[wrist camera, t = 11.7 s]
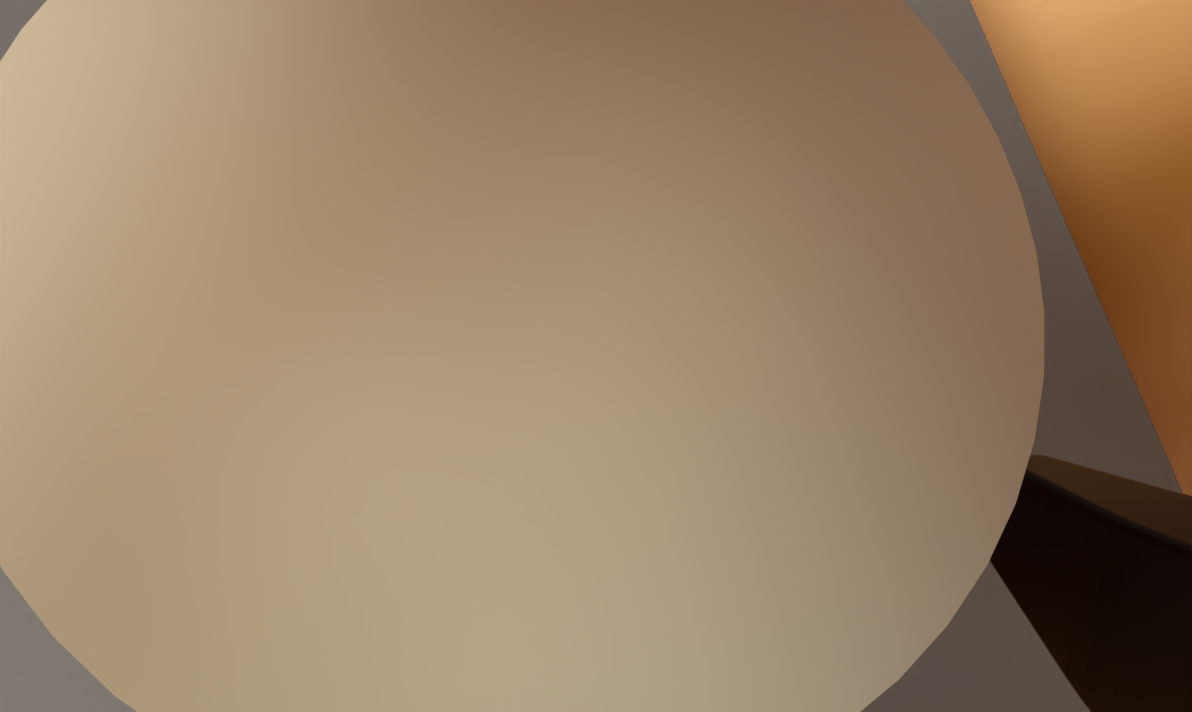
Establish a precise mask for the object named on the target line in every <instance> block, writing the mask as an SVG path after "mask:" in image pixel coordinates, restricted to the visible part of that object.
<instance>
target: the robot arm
mask: <svg viewBox="0 0 1192 712" xmlns="http://www.w3.org/2000/svg"><path fill="white" fill-rule="evenodd" d="M990 561H991V563H992V565H993V567H994V568H995V570H996V571H997V573H998V575H999V576H1000V578H1001V579H1002V581H1003V582H1004V584H1005V585H1006V587H1007V588H1008V590H1009V591H1010V593H1011V594H1012V596H1013V597H1014V599H1015V601H1016V602H1017V604H1018V605H1019V607H1020V608H1021V610H1022V611H1023V613H1024V614H1025V616H1026V617H1027V619H1028V620H1029V622H1030V624H1031V625H1032V627H1033V628H1034V630H1035V631H1036V633H1037V634H1038V636H1039V637H1040V639H1041V640H1042V642H1043V643H1044V645H1045V647H1046V648H1047V650H1048V651H1049V653H1050V654H1051V656H1052V657H1053V659H1054V660H1055V662H1056V663H1057V665H1058V666H1059V668H1060V669H1061V671H1062V673H1063V674H1064V676H1065V677H1066V679H1067V680H1068V681H1069V683H1070V684H1071V686H1072V687H1073V689H1074V690H1075V691H1076V693H1077V694H1078V696H1079V697H1080V699H1081V700H1082V701H1083V703H1084V704H1085V705H1086V706H1087V708H1088V709H1089V710H1090V712H1192V496H1189V495H1185V494H1182V493H1178V492H1175V491H1171V490H1168V489H1164V488H1160V487H1157V486H1153V485H1150V484H1146V483H1142V482H1139V481H1135V480H1132V479H1128V478H1124V477H1121V476H1117V475H1114V474H1110V473H1106V472H1103V471H1099V470H1096V469H1092V468H1088V467H1085V466H1081V465H1078V464H1074V463H1070V462H1067V461H1063V460H1060V459H1056V458H1052V457H1049V456H1045V455H1030V458H1029V461H1028V464H1027V468H1026V471H1025V474H1024V478H1023V481H1022V484H1021V488H1020V491H1019V494H1018V498H1017V501H1016V504H1015V506H1014V509H1013V511H1012V513H1011V515H1010V517H1009V519H1008V521H1007V524H1006V526H1005V528H1004V530H1003V532H1002V534H1001V536H1000V539H999V541H998V543H997V545H996V547H995V549H994V552H993V554H992V556H991V558H990Z"/></svg>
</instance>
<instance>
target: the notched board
mask: <svg viewBox="0 0 1192 712" xmlns="http://www.w3.org/2000/svg"><path fill="white" fill-rule="evenodd" d="M46 1H47V0H0V61H1V60H2V58H3V57H4V55H5V54H6V52H7V51H8V49H9V48H10V46H11V45H12V43H13V42H14V40H15V39H16V37H17V35H18V34H19V32H20V31H21V29H22V28H23V27H24V26H25V25H26V24H27V22H28V21H29V20H30V19H31V18H32V17H33V16H34V14H35V13H36V12H37V11H38V10H39V9H40V8H41V6H42V5H43V4H44V3H45V2H46ZM903 2H904V3H905V4H906V5H907V6H908V7H909V8H910V9H911V10H912V12H913V13H914V14H915V15H916V16H917V17H918V18H919V19H920V21H921V22H922V23H923V24H924V25H925V26H926V27H927V28H928V29H929V31H930V32H931V33H932V34H933V35H934V36H935V37H936V39H937V40H938V42H939V43H940V44H941V46H942V47H943V49H944V50H945V51H946V53H947V54H948V56H949V57H950V58H951V60H952V61H953V63H954V64H955V65H956V67H957V68H958V70H959V71H960V72H961V74H962V75H963V77H964V78H965V79H966V81H967V82H968V84H969V85H970V87H971V89H972V90H973V92H974V94H975V96H976V98H977V100H978V101H979V103H980V105H981V107H982V109H983V110H984V112H985V114H986V116H987V118H988V119H989V121H990V123H991V125H992V127H993V128H994V130H995V132H996V134H997V136H998V138H999V140H1000V143H1001V145H1002V148H1003V150H1004V153H1005V155H1006V157H1007V160H1008V162H1009V165H1010V167H1011V170H1012V172H1013V175H1014V177H1015V180H1016V182H1017V185H1018V187H1019V190H1020V192H1021V195H1022V199H1023V203H1024V207H1025V210H1026V214H1027V218H1028V222H1029V225H1030V229H1031V233H1032V237H1033V241H1034V244H1035V248H1036V252H1037V259H1038V267H1039V275H1040V283H1041V290H1042V298H1043V306H1044V380H1043V387H1042V394H1041V401H1040V407H1039V414H1038V421H1037V428H1036V435H1035V441H1034V444H1033V447H1032V451H1031V454H1030V455H1045V456H1049V457H1052V458H1056V459H1060V460H1063V461H1067V462H1070V463H1074V464H1078V465H1081V466H1085V467H1088V468H1092V469H1096V470H1099V471H1103V472H1106V473H1110V474H1114V475H1117V476H1121V477H1124V478H1128V479H1132V480H1135V481H1139V482H1142V483H1146V484H1150V485H1153V486H1157V487H1160V488H1164V489H1168V490H1171V491H1175V492H1178V493H1182V491H1181V489H1180V486H1179V484H1178V482H1177V479H1176V477H1175V475H1174V472H1173V470H1172V468H1171V465H1170V463H1169V461H1168V458H1167V456H1166V454H1165V452H1164V449H1163V447H1162V445H1161V442H1160V440H1159V438H1158V435H1157V433H1156V431H1155V428H1154V426H1153V424H1152V421H1151V419H1150V417H1149V415H1148V412H1147V410H1146V408H1145V405H1144V403H1143V401H1142V398H1141V396H1140V394H1139V391H1138V389H1137V387H1136V384H1135V382H1134V380H1133V378H1132V375H1131V373H1130V371H1129V368H1128V366H1127V364H1126V361H1125V359H1124V357H1123V354H1122V352H1121V350H1120V347H1119V345H1118V343H1117V341H1116V338H1115V336H1114V334H1113V331H1112V329H1111V327H1110V324H1109V322H1108V320H1107V317H1106V315H1105V313H1104V310H1103V308H1102V306H1101V304H1100V301H1099V299H1098V297H1097V294H1096V292H1095V290H1094V287H1093V285H1092V283H1091V280H1090V278H1089V276H1088V273H1087V271H1086V269H1085V267H1084V264H1083V262H1082V260H1081V257H1080V255H1079V253H1078V250H1077V248H1076V246H1075V243H1074V241H1073V239H1072V236H1071V234H1070V232H1069V230H1068V227H1067V225H1066V223H1065V220H1064V218H1063V216H1062V213H1061V211H1060V209H1059V206H1058V204H1057V202H1056V199H1055V197H1054V195H1053V193H1052V190H1051V188H1050V186H1049V183H1048V181H1047V179H1046V176H1045V174H1044V172H1043V169H1042V167H1041V165H1040V162H1039V160H1038V158H1037V155H1036V153H1035V151H1034V149H1033V146H1032V144H1031V142H1030V139H1029V137H1028V135H1027V132H1026V130H1025V128H1024V125H1023V123H1022V121H1021V118H1020V116H1019V114H1018V112H1017V109H1016V107H1015V105H1014V102H1013V100H1012V98H1011V95H1010V93H1009V91H1008V88H1007V86H1006V84H1005V81H1004V79H1003V77H1002V75H1001V72H1000V70H999V68H998V65H997V63H996V61H995V58H994V56H993V54H992V51H991V49H990V47H989V44H988V42H987V40H986V38H985V35H984V33H983V31H982V28H981V26H980V24H979V21H978V19H977V17H976V14H975V12H974V10H973V7H972V5H971V3H970V1H969V0H903ZM1182 494H1183V493H1182ZM0 712H137V711H135V710H134V709H132V708H131V707H130V706H128V705H127V704H125V703H124V702H123V701H121V700H120V699H118V698H117V697H115V696H114V695H113V694H112V693H111V692H110V691H109V690H108V689H107V688H106V687H105V686H104V685H103V684H102V683H101V682H100V681H99V680H98V679H97V678H95V677H94V676H93V675H92V674H91V673H90V672H89V671H88V670H87V669H86V668H85V667H84V666H83V665H82V664H81V663H80V662H79V661H78V660H77V659H76V658H75V657H74V656H73V655H72V654H71V653H70V652H69V651H68V650H66V649H65V648H64V647H63V646H62V645H61V644H60V643H59V642H58V641H57V640H56V639H55V638H54V637H53V636H52V634H51V633H50V632H49V631H48V629H47V628H46V627H45V625H44V624H43V623H42V621H41V620H40V619H39V617H38V616H37V615H36V613H35V612H34V611H33V609H32V608H31V607H30V605H29V604H28V603H27V602H26V600H25V599H24V598H23V596H22V595H21V594H20V592H19V591H18V590H17V588H16V587H15V586H14V584H13V583H12V582H11V580H10V579H9V578H8V576H7V575H6V574H5V572H4V571H3V569H2V568H1V566H0ZM860 712H1090V710H1089V709H1088V708H1087V706H1086V705H1085V704H1084V703H1083V701H1082V700H1081V699H1080V697H1079V696H1078V694H1077V693H1076V691H1075V690H1074V689H1073V687H1072V686H1071V684H1070V683H1069V681H1068V680H1067V679H1066V677H1065V676H1064V674H1063V673H1062V671H1061V669H1060V668H1059V666H1058V665H1057V663H1056V662H1055V660H1054V659H1053V657H1052V656H1051V654H1050V653H1049V651H1048V650H1047V648H1046V647H1045V645H1044V643H1043V642H1042V640H1041V639H1040V637H1039V636H1038V634H1037V633H1036V631H1035V630H1034V628H1033V627H1032V625H1031V624H1030V622H1029V620H1028V619H1027V617H1026V616H1025V614H1024V613H1023V611H1022V610H1021V608H1020V607H1019V605H1018V604H1017V602H1016V601H1015V599H1014V597H1013V596H1012V594H1011V593H1010V591H1009V590H1008V588H1007V587H1006V585H1005V584H1004V582H1003V581H1002V579H1001V578H1000V576H999V575H998V573H997V571H996V570H995V568H994V567H993V565H992V563H991V561H990V560H989V562H988V564H987V566H986V568H985V569H984V571H983V572H982V574H981V575H980V577H979V578H978V580H977V582H976V583H975V585H974V586H973V588H972V589H971V591H970V592H969V594H968V595H967V597H966V598H965V600H964V601H963V603H962V604H961V606H960V607H959V609H958V610H957V612H956V613H955V615H954V616H953V618H952V619H951V621H950V622H949V624H948V625H947V626H946V628H945V629H944V630H943V631H942V632H941V633H940V634H939V635H938V637H937V638H936V639H935V640H934V641H933V642H932V643H931V644H930V645H929V647H928V648H927V649H926V650H925V651H924V652H923V653H922V654H921V655H920V657H919V658H918V659H917V660H916V661H915V662H914V663H913V664H912V665H911V667H910V668H909V669H908V670H907V671H906V672H905V673H904V674H903V676H902V677H901V678H900V679H899V680H898V681H897V682H895V683H894V684H893V685H892V686H891V687H889V688H888V689H887V690H886V691H885V692H883V693H882V694H881V695H880V696H879V697H877V698H876V699H875V700H874V701H872V702H871V703H870V704H869V705H868V706H866V707H865V708H864V709H863V710H862V711H860Z"/></svg>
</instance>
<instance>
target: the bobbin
mask: <svg viewBox="0 0 1192 712" xmlns="http://www.w3.org/2000/svg"><path fill="white" fill-rule="evenodd" d="M1043 380H1044V306H1043V298H1042V290H1041V283H1040V275H1039V267H1038V259H1037V252H1036V248H1035V244H1034V241H1033V237H1032V233H1031V229H1030V225H1029V222H1028V218H1027V214H1026V210H1025V207H1024V203H1023V199H1022V195H1021V192H1020V190H1019V187H1018V185H1017V182H1016V180H1015V177H1014V175H1013V172H1012V170H1011V167H1010V165H1009V162H1008V160H1007V157H1006V155H1005V153H1004V150H1003V148H1002V145H1001V143H1000V140H999V138H998V136H997V134H996V132H995V130H994V128H993V127H992V125H991V123H990V121H989V119H988V118H987V116H986V114H985V112H984V110H983V109H982V107H981V105H980V103H979V101H978V100H977V98H976V96H975V94H974V92H973V90H972V89H971V87H970V85H969V84H968V82H967V81H966V79H965V78H964V77H963V75H962V74H961V72H960V71H959V70H958V68H957V67H956V65H955V64H954V63H953V61H952V60H951V58H950V57H949V56H948V54H947V53H946V51H945V50H944V49H943V47H942V46H941V44H940V43H939V42H938V40H937V39H936V37H935V36H934V35H933V34H932V33H931V32H930V31H929V29H928V28H927V27H926V26H925V25H924V24H923V23H922V22H921V21H920V19H919V18H918V17H917V16H916V15H915V14H914V13H913V12H912V10H911V9H910V8H909V7H908V6H907V5H906V4H905V3H904V2H903V0H47V1H46V2H45V3H44V4H43V5H42V6H41V8H40V9H39V10H38V11H37V12H36V13H35V14H34V16H33V17H32V18H31V19H30V20H29V21H28V22H27V24H26V25H25V26H24V27H23V28H22V29H21V31H20V32H19V34H18V35H17V37H16V39H15V40H14V42H13V43H12V45H11V46H10V48H9V49H8V51H7V52H6V54H5V55H4V57H3V58H2V60H1V61H0V566H1V568H2V569H3V571H4V572H5V574H6V575H7V576H8V578H9V579H10V580H11V582H12V583H13V584H14V586H15V587H16V588H17V590H18V591H19V592H20V594H21V595H22V596H23V598H24V599H25V600H26V602H27V603H28V604H29V605H30V607H31V608H32V609H33V611H34V612H35V613H36V615H37V616H38V617H39V619H40V620H41V621H42V623H43V624H44V625H45V627H46V628H47V629H48V631H49V632H50V633H51V634H52V636H53V637H54V638H55V639H56V640H57V641H58V642H59V643H60V644H61V645H62V646H63V647H64V648H65V649H66V650H68V651H69V652H70V653H71V654H72V655H73V656H74V657H75V658H76V659H77V660H78V661H79V662H80V663H81V664H82V665H83V666H84V667H85V668H86V669H87V670H88V671H89V672H90V673H91V674H92V675H93V676H94V677H95V678H97V679H98V680H99V681H100V682H101V683H102V684H103V685H104V686H105V687H106V688H107V689H108V690H109V691H110V692H111V693H112V694H113V695H114V696H115V697H117V698H118V699H120V700H121V701H123V702H124V703H125V704H127V705H128V706H130V707H131V708H132V709H134V710H135V711H137V712H860V711H862V710H863V709H864V708H865V707H866V706H868V705H869V704H870V703H871V702H872V701H874V700H875V699H876V698H877V697H879V696H880V695H881V694H882V693H883V692H885V691H886V690H887V689H888V688H889V687H891V686H892V685H893V684H894V683H895V682H897V681H898V680H899V679H900V678H901V677H902V676H903V674H904V673H905V672H906V671H907V670H908V669H909V668H910V667H911V665H912V664H913V663H914V662H915V661H916V660H917V659H918V658H919V657H920V655H921V654H922V653H923V652H924V651H925V650H926V649H927V648H928V647H929V645H930V644H931V643H932V642H933V641H934V640H935V639H936V638H937V637H938V635H939V634H940V633H941V632H942V631H943V630H944V629H945V628H946V626H947V625H948V624H949V622H950V621H951V619H952V618H953V616H954V615H955V613H956V612H957V610H958V609H959V607H960V606H961V604H962V603H963V601H964V600H965V598H966V597H967V595H968V594H969V592H970V591H971V589H972V588H973V586H974V585H975V583H976V582H977V580H978V578H979V577H980V575H981V574H982V572H983V571H984V569H985V568H986V566H987V564H988V562H989V560H990V558H991V556H992V554H993V552H994V549H995V547H996V545H997V543H998V541H999V539H1000V536H1001V534H1002V532H1003V530H1004V528H1005V526H1006V524H1007V521H1008V519H1009V517H1010V515H1011V513H1012V511H1013V509H1014V506H1015V504H1016V501H1017V498H1018V494H1019V491H1020V488H1021V484H1022V481H1023V478H1024V474H1025V471H1026V468H1027V464H1028V461H1029V458H1030V454H1031V451H1032V447H1033V444H1034V441H1035V435H1036V428H1037V421H1038V414H1039V407H1040V401H1041V394H1042V387H1043Z"/></svg>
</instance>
